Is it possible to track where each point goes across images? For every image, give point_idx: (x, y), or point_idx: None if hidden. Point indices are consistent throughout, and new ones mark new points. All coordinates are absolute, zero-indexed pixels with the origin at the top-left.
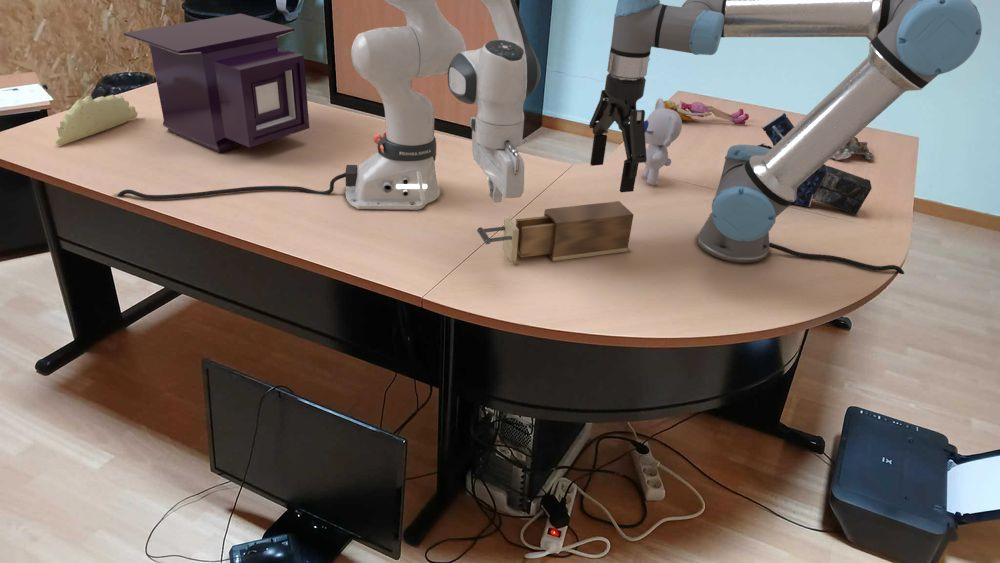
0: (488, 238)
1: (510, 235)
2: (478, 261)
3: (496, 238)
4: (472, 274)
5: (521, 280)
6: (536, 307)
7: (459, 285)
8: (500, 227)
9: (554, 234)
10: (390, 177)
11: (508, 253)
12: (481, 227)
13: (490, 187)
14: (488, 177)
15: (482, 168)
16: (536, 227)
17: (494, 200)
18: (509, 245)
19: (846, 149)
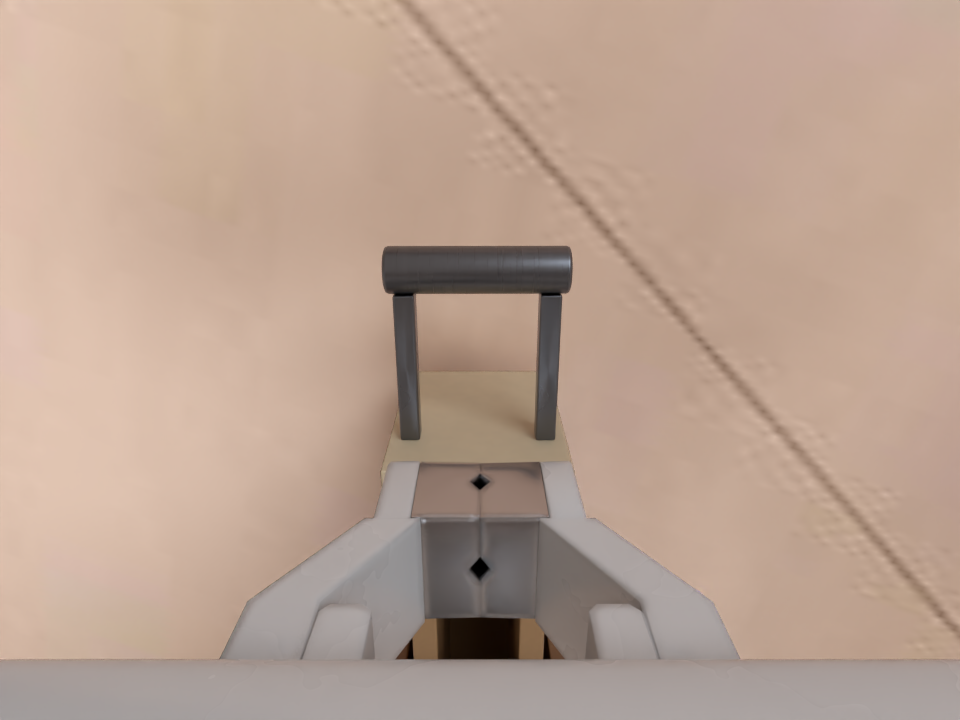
0: (388, 279)
1: (431, 438)
2: (485, 209)
3: (400, 338)
4: (353, 127)
5: (257, 363)
6: (10, 347)
7: (242, 5)
8: (548, 413)
9: (404, 657)
10: None
11: (449, 380)
12: (566, 283)
13: (558, 540)
14: (659, 635)
15: (934, 689)
16: None
17: (389, 475)
18: (441, 404)
19: None
